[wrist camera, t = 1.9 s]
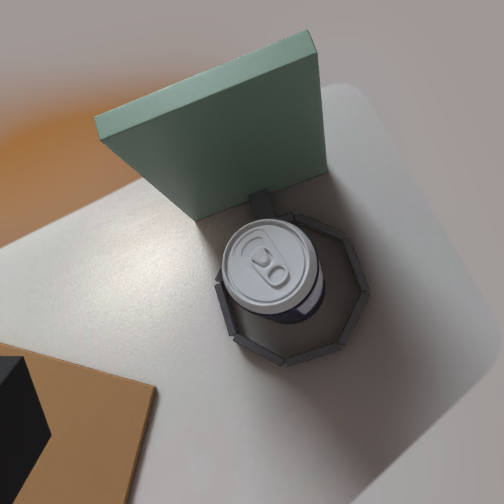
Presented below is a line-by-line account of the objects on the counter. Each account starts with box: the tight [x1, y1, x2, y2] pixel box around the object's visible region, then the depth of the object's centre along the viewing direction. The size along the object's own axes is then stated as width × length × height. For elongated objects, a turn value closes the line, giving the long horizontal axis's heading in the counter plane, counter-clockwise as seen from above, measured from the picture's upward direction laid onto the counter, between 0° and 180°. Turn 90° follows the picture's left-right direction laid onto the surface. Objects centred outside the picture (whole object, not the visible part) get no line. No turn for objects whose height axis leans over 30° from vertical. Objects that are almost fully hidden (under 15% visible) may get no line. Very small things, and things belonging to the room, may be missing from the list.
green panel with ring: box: [94, 30, 369, 367], centre depth 29 cm, size 15×12×16 cm
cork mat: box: [0, 343, 156, 504], centre depth 38 cm, size 20×18×1 cm
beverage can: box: [221, 218, 325, 324], centre depth 31 cm, size 6×6×12 cm
